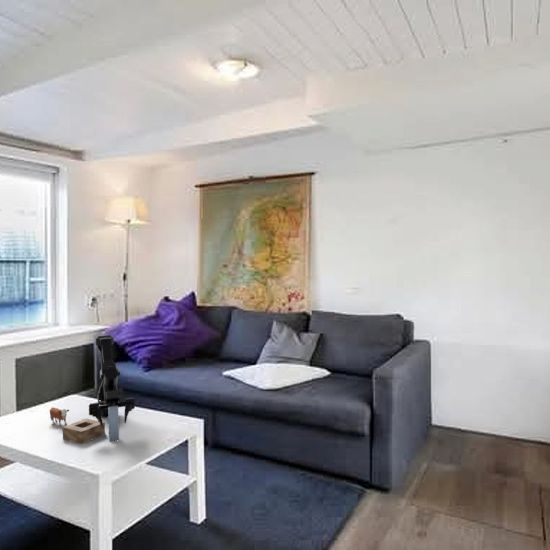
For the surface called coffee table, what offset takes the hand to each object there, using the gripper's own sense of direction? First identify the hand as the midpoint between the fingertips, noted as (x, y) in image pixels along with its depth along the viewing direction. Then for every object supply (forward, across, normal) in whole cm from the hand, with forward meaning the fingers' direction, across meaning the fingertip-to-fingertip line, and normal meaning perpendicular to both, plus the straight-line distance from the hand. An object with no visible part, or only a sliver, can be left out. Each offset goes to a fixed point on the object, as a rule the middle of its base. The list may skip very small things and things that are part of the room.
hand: (113, 424), depth 193 cm
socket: (-3, -11, +13) cm, 18 cm away
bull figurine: (-18, -21, +28) cm, 40 cm away
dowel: (+4, 0, +6) cm, 7 cm away
